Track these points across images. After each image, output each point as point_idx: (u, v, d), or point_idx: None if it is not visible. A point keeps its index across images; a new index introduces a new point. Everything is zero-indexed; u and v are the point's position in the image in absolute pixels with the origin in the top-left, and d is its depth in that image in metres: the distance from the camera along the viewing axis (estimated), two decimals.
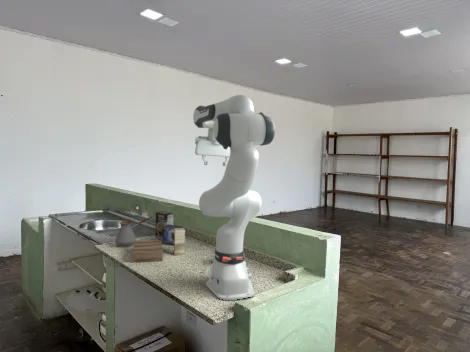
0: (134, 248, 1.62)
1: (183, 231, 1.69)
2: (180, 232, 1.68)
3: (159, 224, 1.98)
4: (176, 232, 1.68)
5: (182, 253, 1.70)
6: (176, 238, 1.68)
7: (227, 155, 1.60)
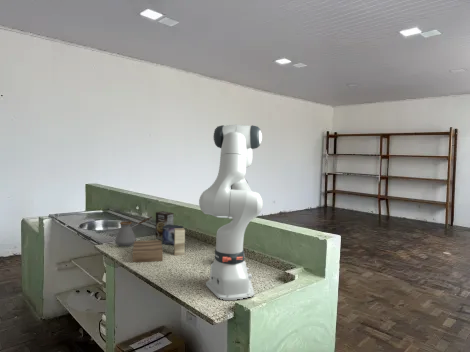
0: (134, 248, 1.62)
1: (183, 231, 1.69)
2: (180, 232, 1.68)
3: (159, 224, 1.98)
4: (176, 232, 1.68)
5: (182, 253, 1.70)
6: (176, 238, 1.68)
7: None
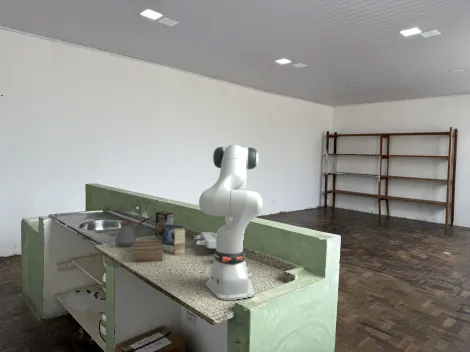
0: (134, 248, 1.62)
1: (183, 231, 1.69)
2: (180, 232, 1.68)
3: (159, 224, 1.98)
4: (176, 232, 1.68)
5: (182, 253, 1.70)
6: (176, 238, 1.68)
7: (207, 239, 1.69)
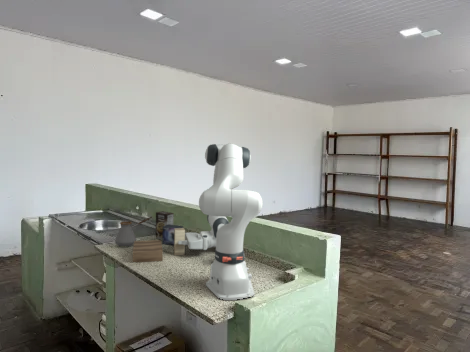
0: (134, 248, 1.62)
1: (183, 231, 1.69)
2: (180, 232, 1.68)
3: (159, 224, 1.98)
4: (176, 232, 1.68)
5: (182, 253, 1.70)
6: (176, 238, 1.68)
7: (189, 239, 1.67)
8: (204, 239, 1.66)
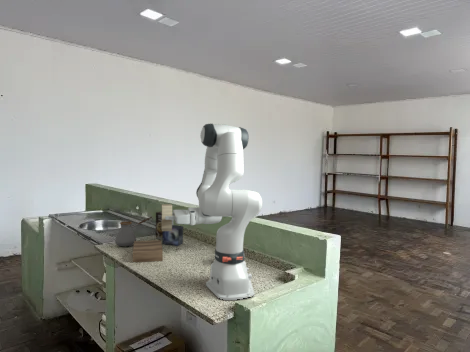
0: (134, 248, 1.62)
1: (170, 206, 1.66)
2: (167, 207, 1.66)
3: (159, 224, 1.98)
4: (163, 207, 1.65)
5: (169, 229, 1.67)
6: (163, 213, 1.66)
7: (176, 215, 1.64)
8: (191, 214, 1.63)
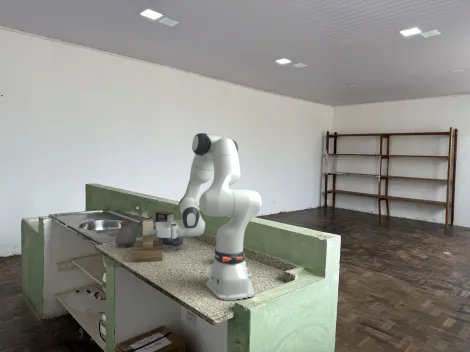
0: (134, 248, 1.62)
1: (151, 222, 1.64)
2: (148, 223, 1.64)
3: None
4: (144, 223, 1.63)
5: (150, 245, 1.65)
6: (144, 229, 1.63)
7: (157, 228, 1.62)
8: (172, 227, 1.61)
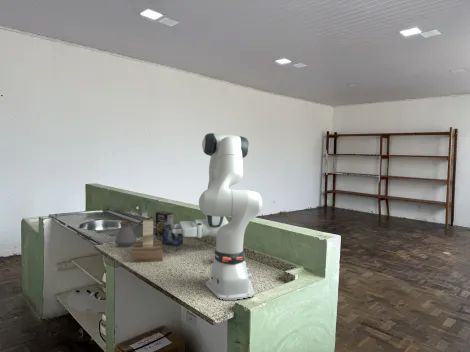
0: (134, 248, 1.62)
1: (151, 222, 1.64)
2: (148, 223, 1.64)
3: (159, 224, 1.98)
4: (144, 223, 1.63)
5: (150, 245, 1.65)
6: (144, 229, 1.63)
7: (183, 227, 1.65)
8: (198, 227, 1.65)
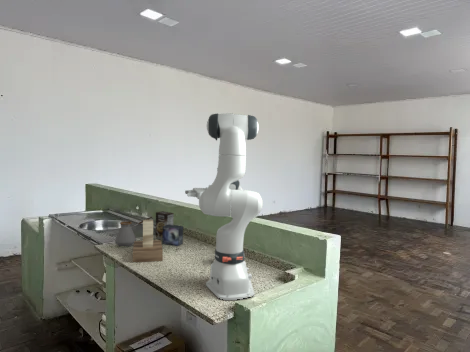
0: (134, 248, 1.62)
1: (151, 222, 1.64)
2: (148, 223, 1.64)
3: (159, 224, 1.98)
4: (144, 223, 1.63)
5: (150, 245, 1.65)
6: (144, 229, 1.63)
7: (198, 191, 1.66)
8: None
